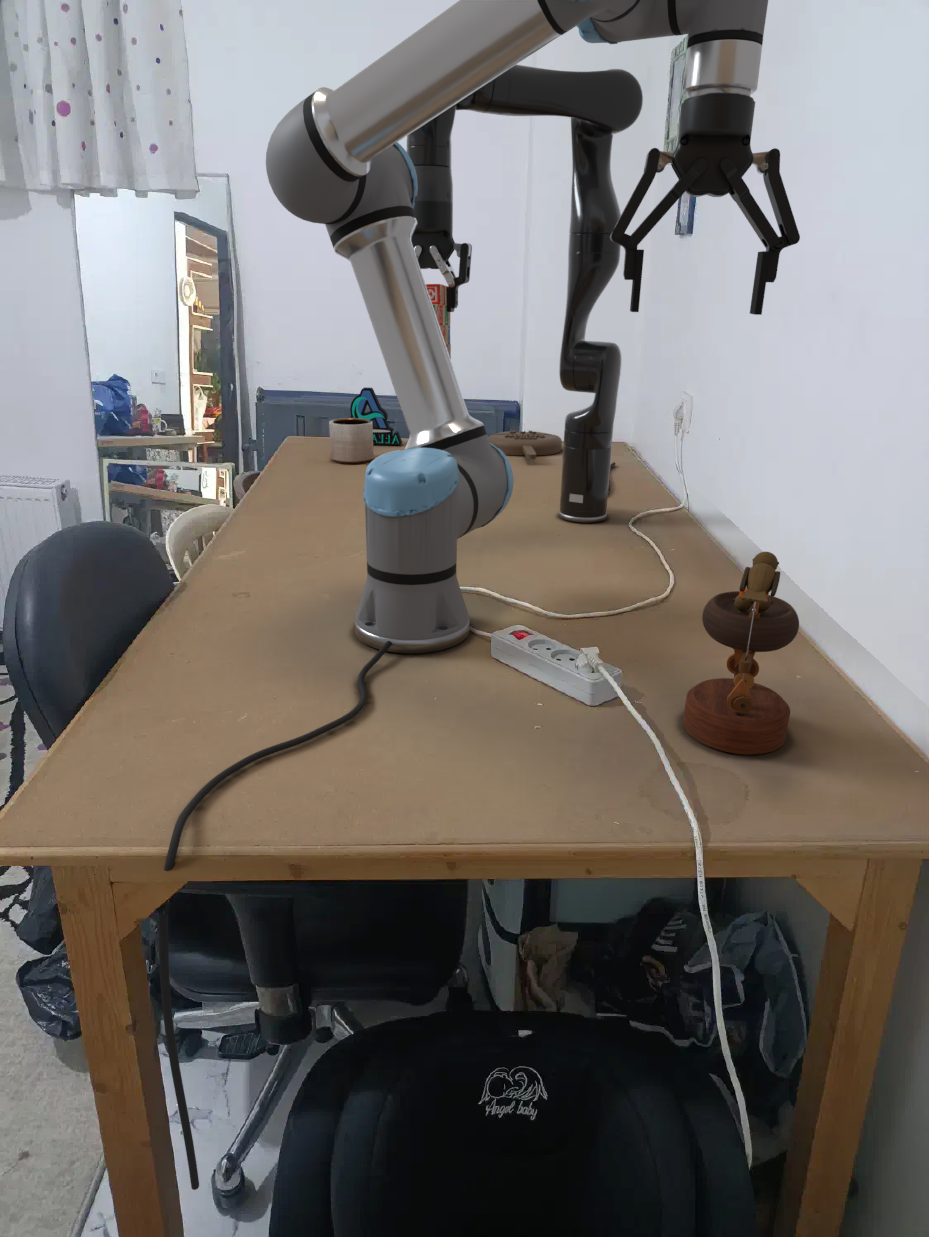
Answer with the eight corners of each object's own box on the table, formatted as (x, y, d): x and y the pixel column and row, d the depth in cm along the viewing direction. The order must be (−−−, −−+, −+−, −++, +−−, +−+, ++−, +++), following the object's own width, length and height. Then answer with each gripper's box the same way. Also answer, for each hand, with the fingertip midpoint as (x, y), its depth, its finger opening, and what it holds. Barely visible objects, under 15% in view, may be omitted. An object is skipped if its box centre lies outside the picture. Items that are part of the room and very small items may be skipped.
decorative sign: (402, 443, 235) (401, 388, 229) (401, 445, 232) (400, 389, 227) (334, 442, 236) (332, 386, 230) (333, 443, 233) (330, 387, 228)
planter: (327, 456, 217) (325, 418, 214) (369, 454, 220) (368, 417, 217) (334, 465, 208) (332, 425, 204) (377, 463, 211) (376, 424, 207)
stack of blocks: (432, 370, 125) (431, 281, 121) (391, 370, 126) (388, 281, 122) (451, 362, 145) (450, 285, 141) (415, 362, 146) (413, 285, 142)
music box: (807, 766, 83) (825, 574, 75) (692, 766, 84) (698, 577, 77) (772, 695, 97) (784, 526, 89) (674, 696, 98) (678, 530, 91)
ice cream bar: (490, 464, 211) (490, 447, 209) (483, 443, 237) (483, 428, 235) (573, 465, 212) (575, 448, 210) (557, 444, 238) (558, 429, 236)
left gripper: (831, 104, 91) (798, 313, 99) (596, 104, 93) (583, 309, 101) (853, 90, 84) (816, 316, 92) (600, 90, 86) (585, 312, 94)
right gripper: (478, 201, 136) (477, 311, 142) (394, 202, 139) (396, 309, 145) (466, 198, 129) (465, 313, 135) (378, 198, 132) (380, 311, 139)
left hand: (694, 313), depth 96 cm, fingers open, 13 cm apart
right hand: (429, 311), depth 140 cm, fingers closed on stack of blocks, 6 cm apart
